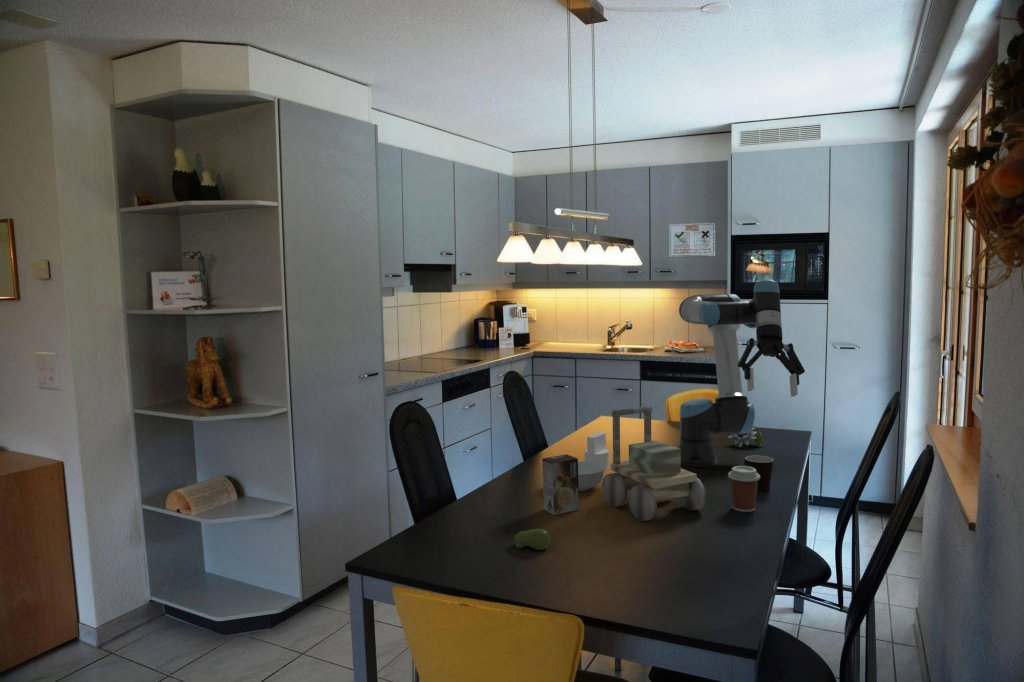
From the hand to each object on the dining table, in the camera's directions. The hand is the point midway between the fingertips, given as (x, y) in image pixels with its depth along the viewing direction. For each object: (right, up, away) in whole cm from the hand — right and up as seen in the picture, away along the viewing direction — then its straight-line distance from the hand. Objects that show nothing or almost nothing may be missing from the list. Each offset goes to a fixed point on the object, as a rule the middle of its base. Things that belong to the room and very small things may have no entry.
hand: (772, 392), depth 200 cm
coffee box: (-63, -36, +3) cm, 73 cm away
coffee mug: (+3, -33, +20) cm, 38 cm away
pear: (-73, -39, -25) cm, 86 cm away
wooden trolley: (-35, -35, +3) cm, 50 cm away
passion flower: (+18, -28, +74) cm, 81 cm away
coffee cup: (-9, -35, +1) cm, 36 cm away
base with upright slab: (-46, -31, +49) cm, 74 cm away
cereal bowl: (-56, -34, +24) cm, 70 cm away
